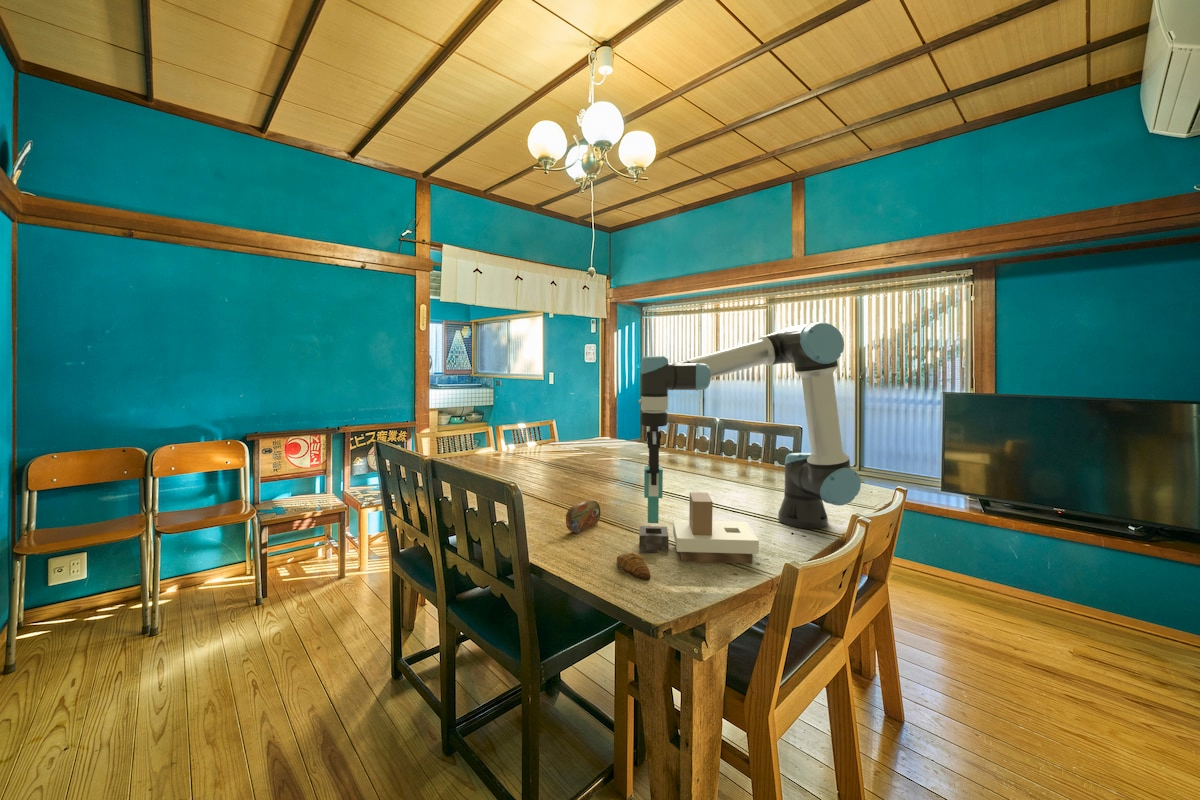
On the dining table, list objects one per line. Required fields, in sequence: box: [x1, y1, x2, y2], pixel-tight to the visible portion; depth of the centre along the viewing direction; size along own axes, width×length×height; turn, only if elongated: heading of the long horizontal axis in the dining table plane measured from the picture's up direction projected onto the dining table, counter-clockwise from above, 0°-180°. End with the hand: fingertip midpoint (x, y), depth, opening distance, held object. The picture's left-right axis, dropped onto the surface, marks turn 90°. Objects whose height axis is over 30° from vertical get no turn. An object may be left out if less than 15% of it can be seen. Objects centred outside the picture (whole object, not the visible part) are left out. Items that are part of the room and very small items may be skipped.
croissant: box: [616, 552, 651, 581], centre depth 121 cm, size 14×7×5 cm, turn 30°
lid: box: [672, 491, 760, 555], centre depth 129 cm, size 21×15×12 cm
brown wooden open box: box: [679, 552, 753, 564], centre depth 130 cm, size 18×12×6 cm, turn 85°
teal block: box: [643, 465, 664, 524], centre depth 135 cm, size 5×5×16 cm
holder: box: [638, 525, 670, 555], centre depth 136 cm, size 8×8×5 cm
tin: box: [565, 500, 601, 534], centre depth 153 cm, size 15×3×8 cm, turn 143°
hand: (653, 493), depth 135 cm, fingers closed on teal block, 5 cm apart
